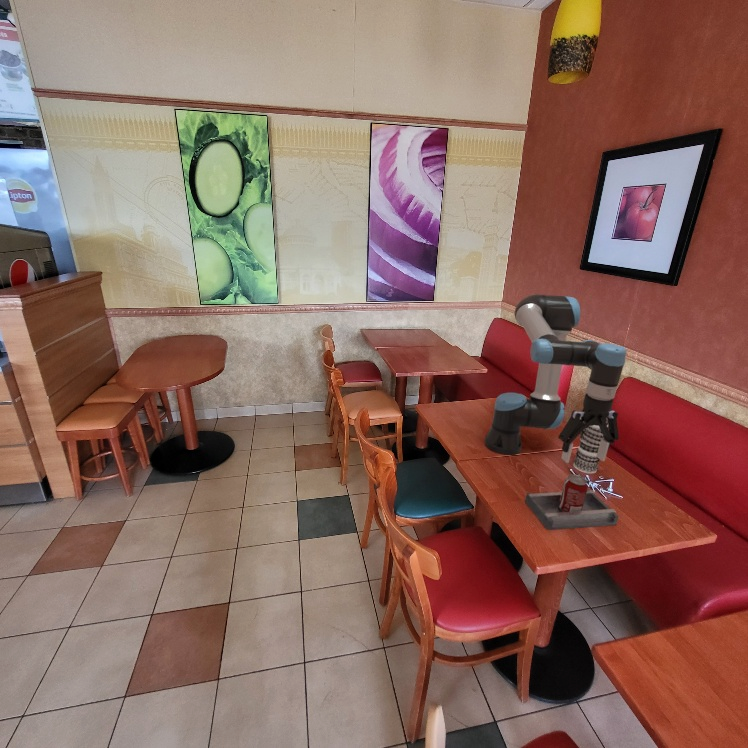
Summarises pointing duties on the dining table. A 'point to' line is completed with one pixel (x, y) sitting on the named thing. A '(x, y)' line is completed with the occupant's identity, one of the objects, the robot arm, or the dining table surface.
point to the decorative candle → (589, 449)
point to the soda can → (573, 494)
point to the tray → (555, 518)
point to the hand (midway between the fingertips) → (582, 459)
